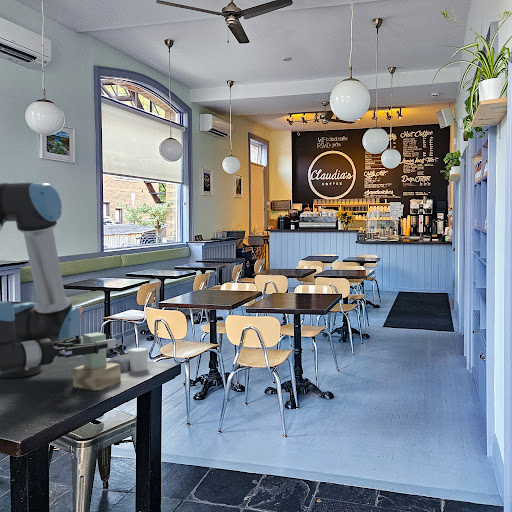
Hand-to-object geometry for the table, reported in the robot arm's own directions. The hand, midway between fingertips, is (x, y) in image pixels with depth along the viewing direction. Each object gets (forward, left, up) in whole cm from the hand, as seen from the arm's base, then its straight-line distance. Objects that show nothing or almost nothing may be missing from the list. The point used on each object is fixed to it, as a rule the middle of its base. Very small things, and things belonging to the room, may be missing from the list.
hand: (107, 340), depth 171 cm
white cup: (-5, +15, -13) cm, 21 cm away
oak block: (0, -4, -13) cm, 14 cm away
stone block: (-13, +12, -14) cm, 22 cm away
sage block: (0, -4, -7) cm, 9 cm away
